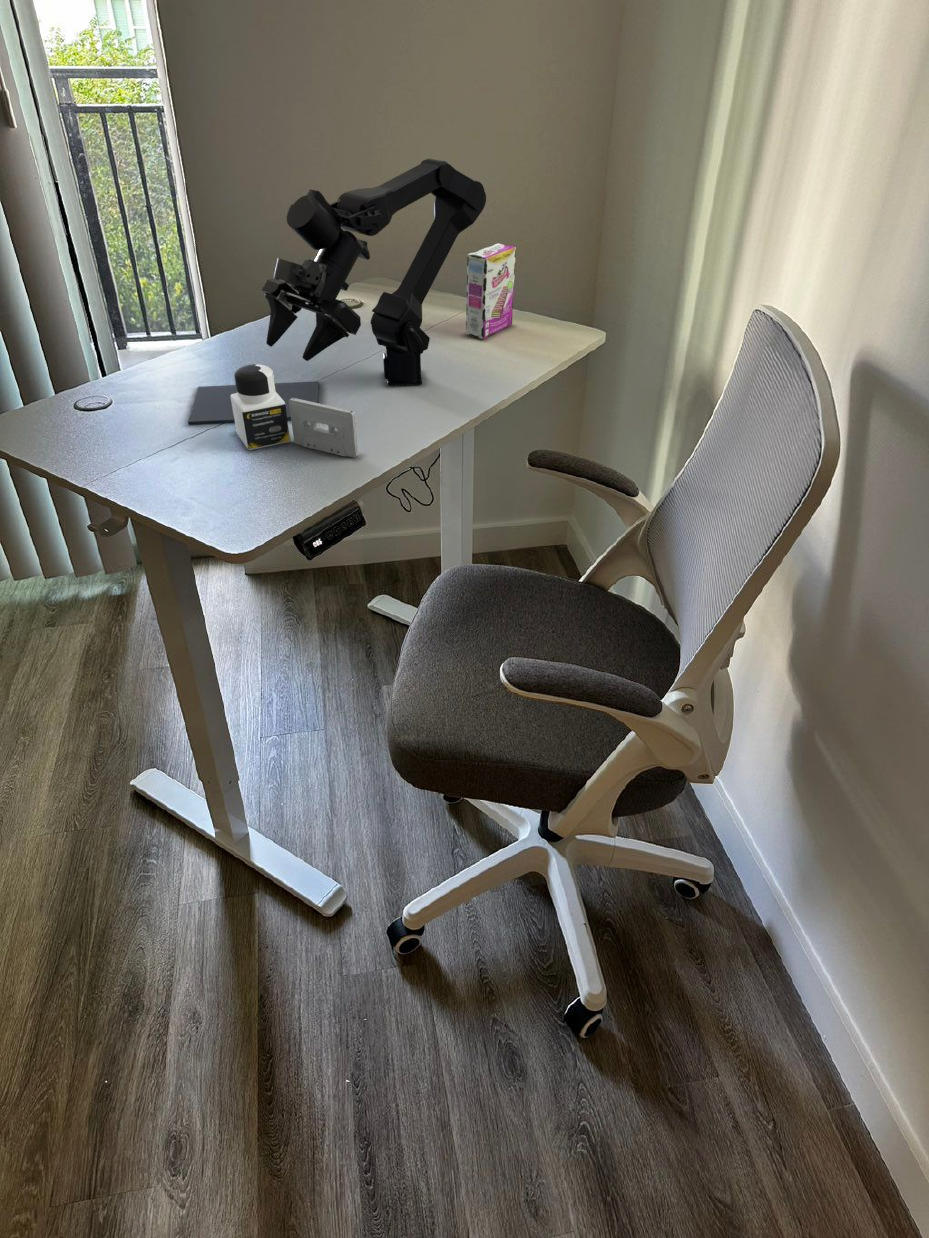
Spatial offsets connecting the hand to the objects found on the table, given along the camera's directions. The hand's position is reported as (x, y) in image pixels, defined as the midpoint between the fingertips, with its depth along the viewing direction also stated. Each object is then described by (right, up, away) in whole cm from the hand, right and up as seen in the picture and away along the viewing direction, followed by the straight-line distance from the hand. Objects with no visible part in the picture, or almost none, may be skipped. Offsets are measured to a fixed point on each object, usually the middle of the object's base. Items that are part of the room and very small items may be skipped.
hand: (286, 352), depth 139 cm
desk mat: (-8, -5, +15) cm, 17 cm away
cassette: (+6, -16, +1) cm, 17 cm away
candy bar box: (+34, +18, +44) cm, 59 cm away
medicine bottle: (-5, -13, +4) cm, 15 cm away
